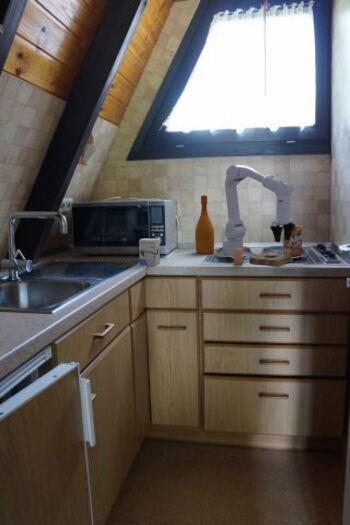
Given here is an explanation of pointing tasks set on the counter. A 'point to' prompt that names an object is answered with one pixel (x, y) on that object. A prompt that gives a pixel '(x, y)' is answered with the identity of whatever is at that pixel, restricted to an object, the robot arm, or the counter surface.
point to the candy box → (293, 243)
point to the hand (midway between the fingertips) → (282, 241)
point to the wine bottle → (204, 231)
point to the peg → (238, 256)
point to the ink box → (149, 251)
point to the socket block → (270, 259)
